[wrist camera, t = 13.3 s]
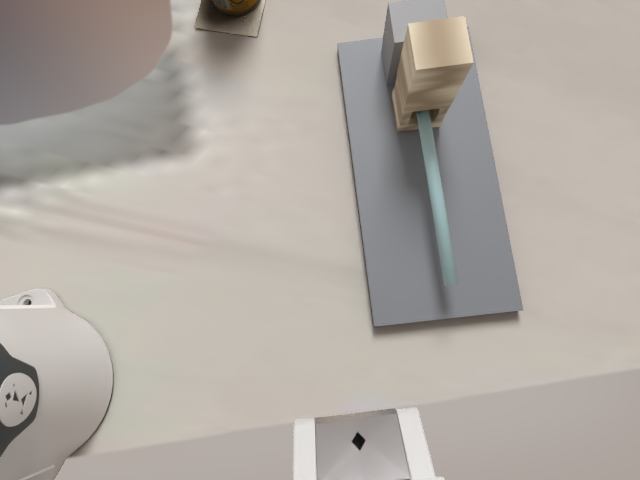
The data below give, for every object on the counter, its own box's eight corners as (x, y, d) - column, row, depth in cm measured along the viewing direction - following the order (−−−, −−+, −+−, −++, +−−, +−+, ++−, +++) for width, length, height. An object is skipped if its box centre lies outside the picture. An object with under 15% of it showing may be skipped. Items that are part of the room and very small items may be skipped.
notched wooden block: (396, 131, 43) (415, 70, 32) (391, 95, 44) (408, 23, 33) (440, 126, 43) (473, 62, 32) (434, 90, 44) (464, 15, 33)
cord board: (373, 326, 42) (381, 328, 33) (337, 50, 47) (337, -5, 39) (517, 310, 41) (561, 308, 33) (464, 34, 47) (490, -26, 38)
